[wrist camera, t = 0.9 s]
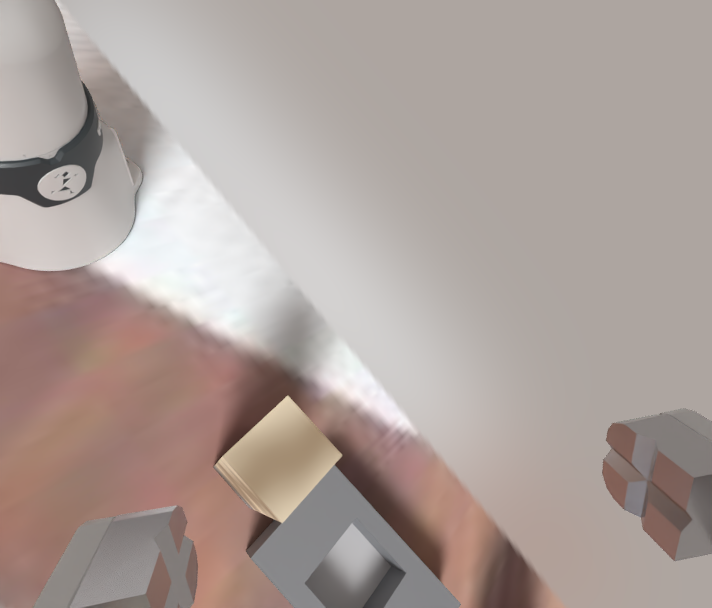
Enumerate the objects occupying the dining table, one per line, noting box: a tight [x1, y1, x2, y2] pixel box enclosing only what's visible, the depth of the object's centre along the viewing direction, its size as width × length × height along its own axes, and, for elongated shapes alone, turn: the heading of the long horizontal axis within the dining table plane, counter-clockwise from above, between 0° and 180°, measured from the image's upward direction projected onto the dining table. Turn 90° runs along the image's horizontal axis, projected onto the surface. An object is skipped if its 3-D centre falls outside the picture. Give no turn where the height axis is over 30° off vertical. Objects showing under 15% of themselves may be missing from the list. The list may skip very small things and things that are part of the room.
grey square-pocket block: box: [246, 465, 461, 608], centre depth 38 cm, size 17×10×4 cm, turn 46°
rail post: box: [213, 396, 343, 523], centre depth 32 cm, size 5×5×18 cm
